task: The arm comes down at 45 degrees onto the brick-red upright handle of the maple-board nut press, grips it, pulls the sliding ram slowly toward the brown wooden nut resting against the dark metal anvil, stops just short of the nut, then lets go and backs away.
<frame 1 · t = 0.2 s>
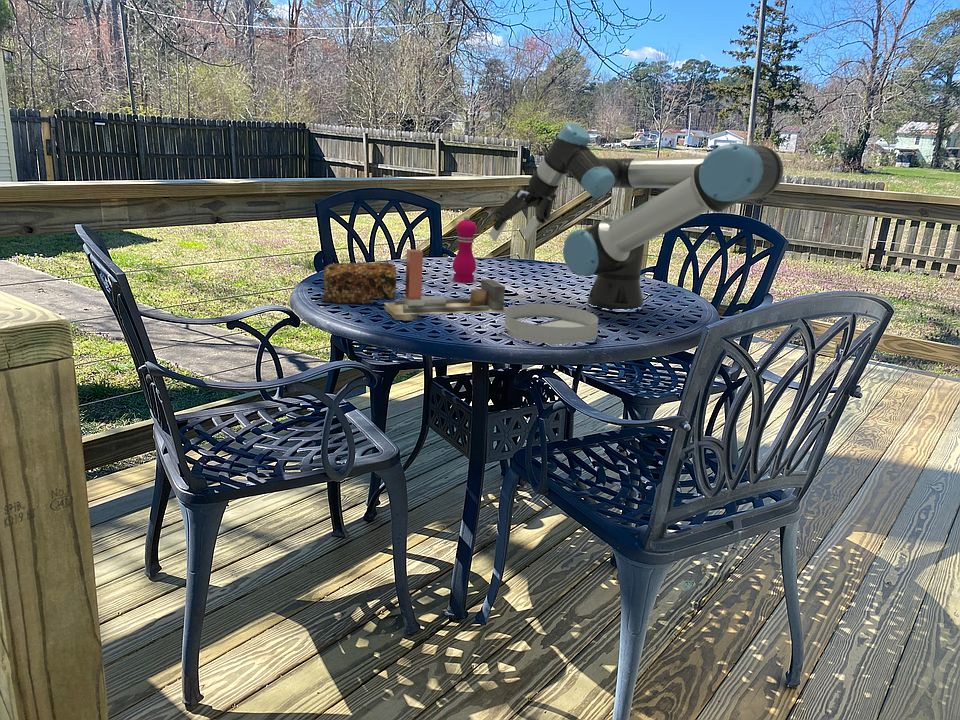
hand: (508, 236, 209), 16 cm above the table, tool tilted 35°, fingers open, 13 cm apart
pepper mill: (463, 281, 227), on the table
dish: (549, 336, 173), on the table
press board: (447, 312, 187), on the table
carriage: (425, 278, 182), point 9 cm above the table, slide at 0.0 cm
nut: (477, 306, 189), point 2 cm above the table, touching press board
bread: (359, 300, 195), on the table
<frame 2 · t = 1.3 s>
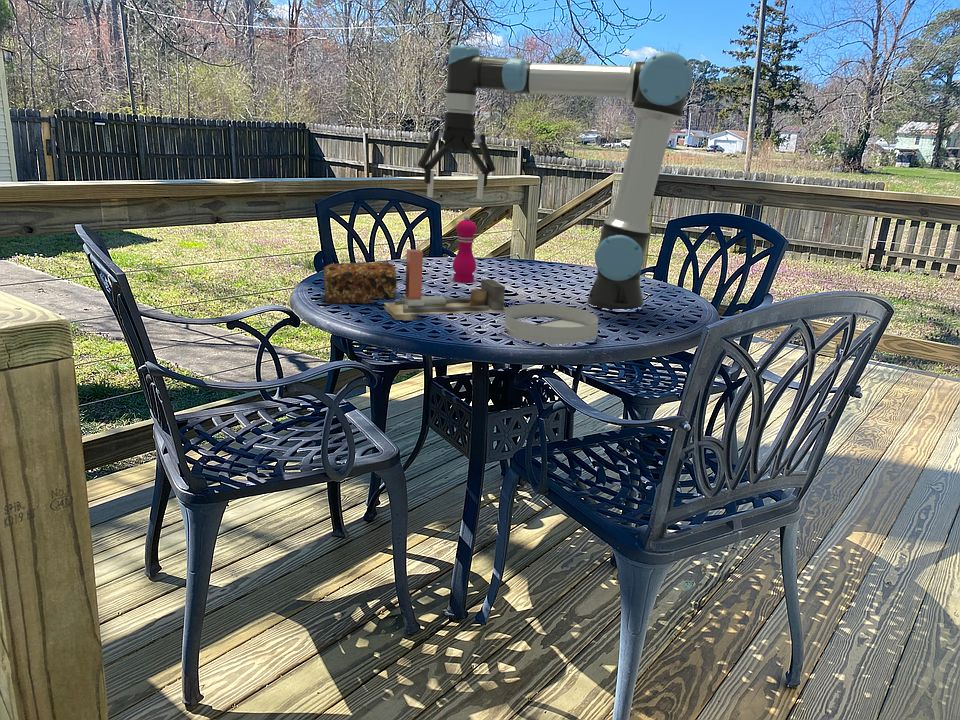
hand: (454, 198, 192), 27 cm above the table, tool pointing down, fingers open, 13 cm apart
nothing on the table moved.
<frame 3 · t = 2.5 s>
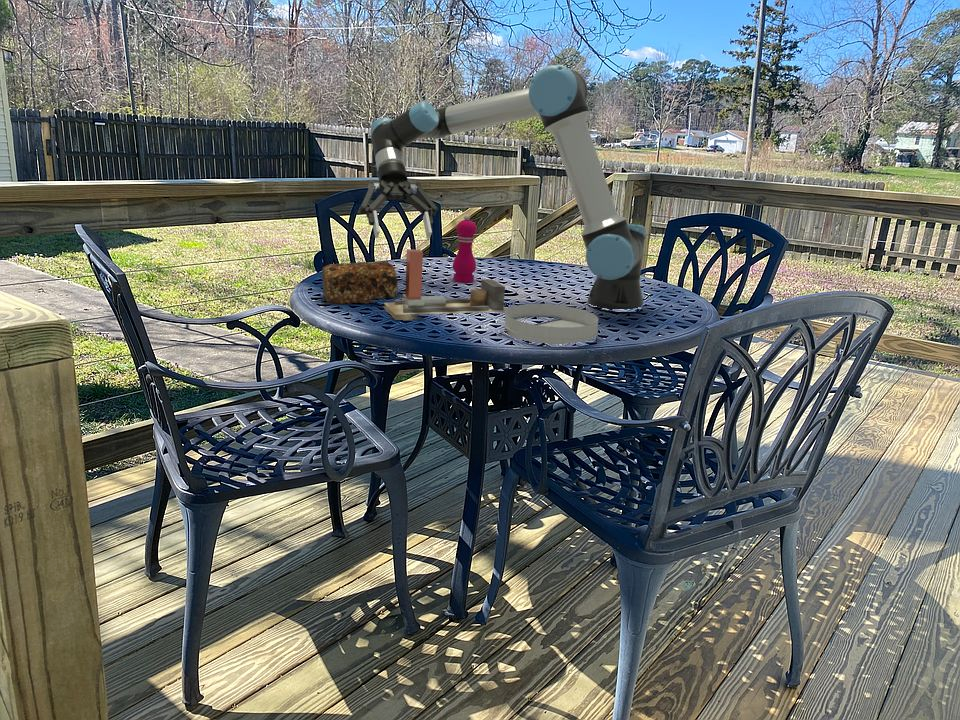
hand: (403, 235, 187), 18 cm above the table, tool tilted 45°, fingers open, 13 cm apart
nothing on the table moved.
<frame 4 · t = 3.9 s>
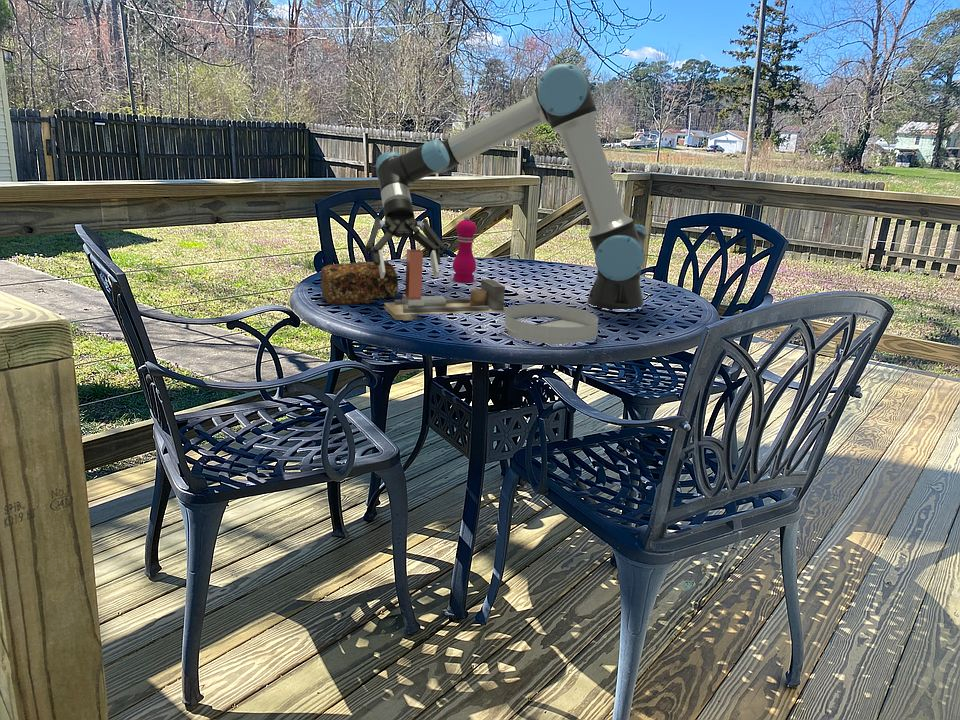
hand: (410, 275, 181), 10 cm above the table, tool tilted 45°, fingers open, 13 cm apart
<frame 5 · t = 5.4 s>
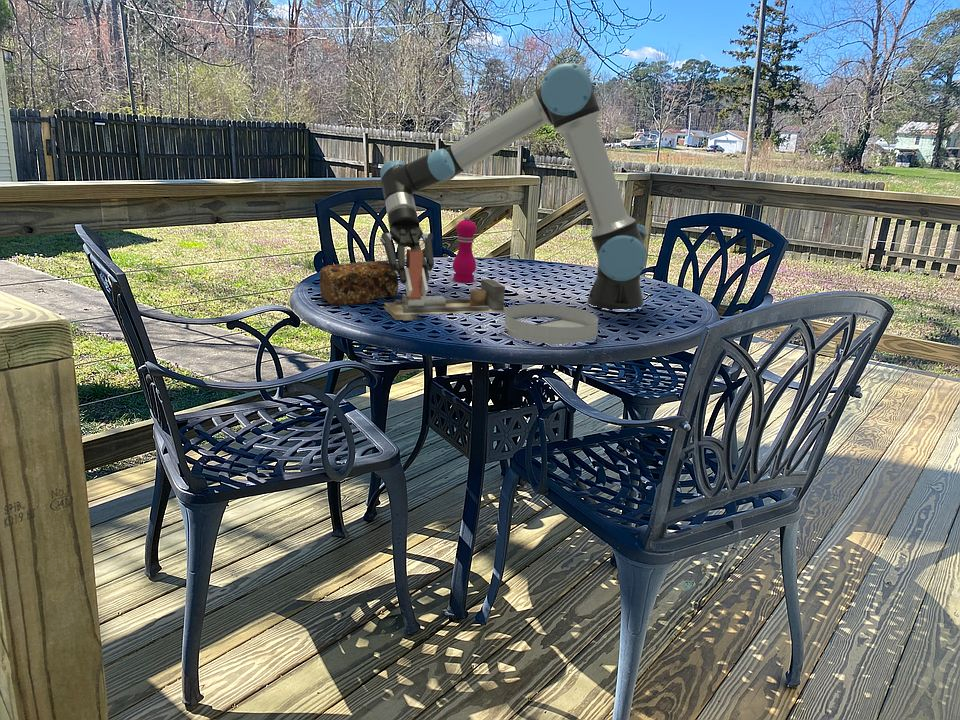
hand: (417, 293, 178), 6 cm above the table, tool tilted 45°, fingers closed on carriage, 3 cm apart
carriage: (425, 278, 182), point 9 cm above the table, slide at 0.0 cm, touching gripper
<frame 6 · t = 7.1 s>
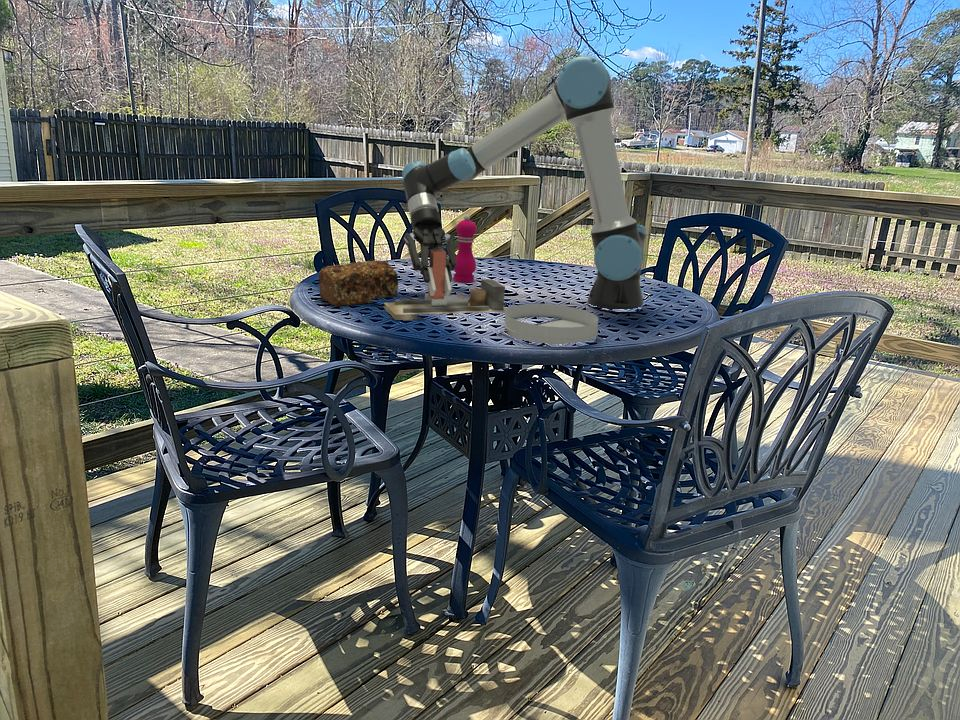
hand: (441, 292, 180), 6 cm above the table, tool tilted 45°, fingers closed on carriage, 3 cm apart
carriage: (448, 278, 184), point 9 cm above the table, slide at 5.9 cm, touching gripper
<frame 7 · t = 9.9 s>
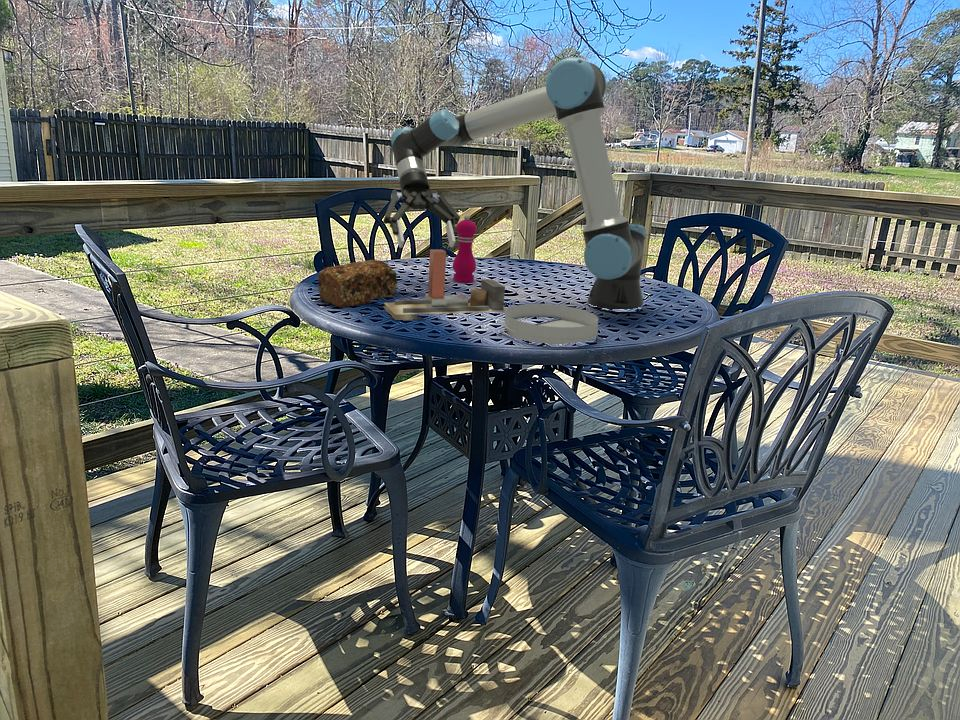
hand: (427, 244, 188), 16 cm above the table, tool tilted 45°, fingers open, 13 cm apart
carriage: (448, 278, 184), point 9 cm above the table, slide at 5.9 cm
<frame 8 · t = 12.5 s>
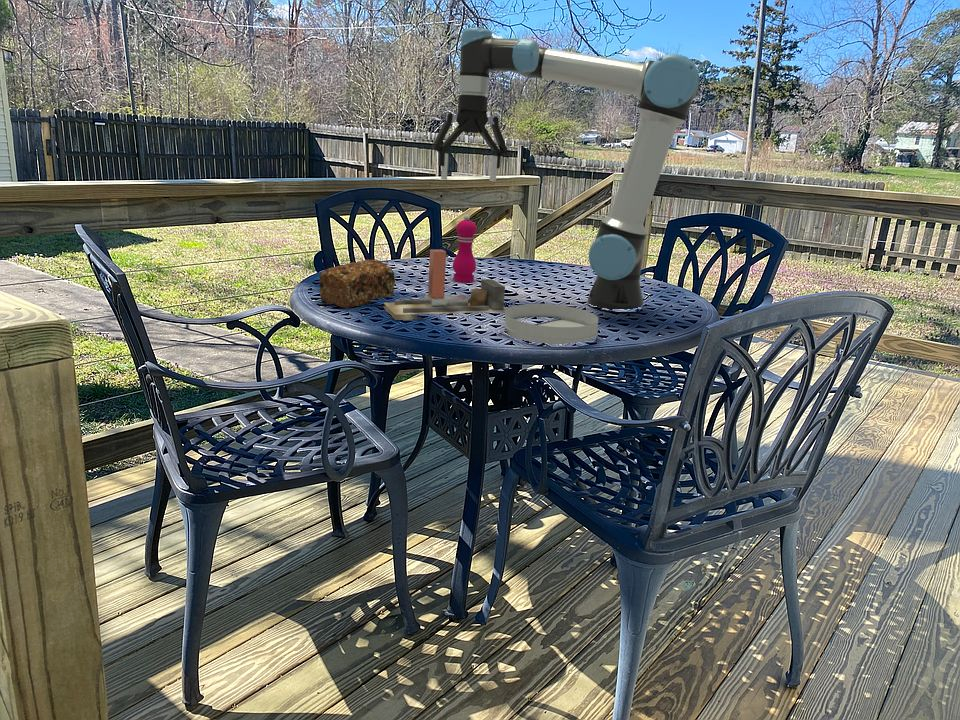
hand: (468, 180, 194), 32 cm above the table, tool pointing down, fingers open, 13 cm apart
at the end: carriage slide at 5.9 cm; the gripper is holding nothing; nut moved 0.0 cm from its start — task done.
